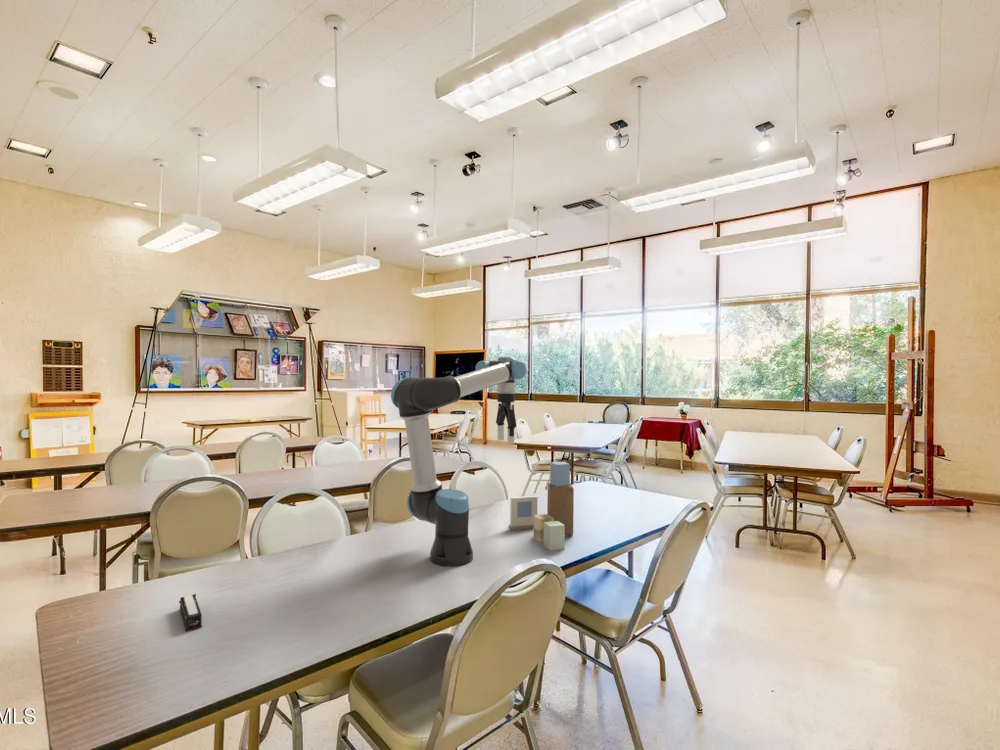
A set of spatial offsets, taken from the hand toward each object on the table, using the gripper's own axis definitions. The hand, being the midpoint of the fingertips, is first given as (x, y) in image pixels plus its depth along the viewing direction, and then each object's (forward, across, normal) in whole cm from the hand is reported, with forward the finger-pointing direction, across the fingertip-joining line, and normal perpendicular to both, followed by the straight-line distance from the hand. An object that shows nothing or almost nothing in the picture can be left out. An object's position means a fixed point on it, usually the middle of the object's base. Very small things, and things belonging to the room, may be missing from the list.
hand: (505, 442), depth 216 cm
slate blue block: (+17, -13, -20) cm, 29 cm away
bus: (+38, -56, +106) cm, 125 cm away
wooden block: (+37, -13, -20) cm, 44 cm away
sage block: (+37, -29, -10) cm, 48 cm away
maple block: (+37, -19, -10) cm, 43 cm away
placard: (+37, -2, -8) cm, 38 cm away
